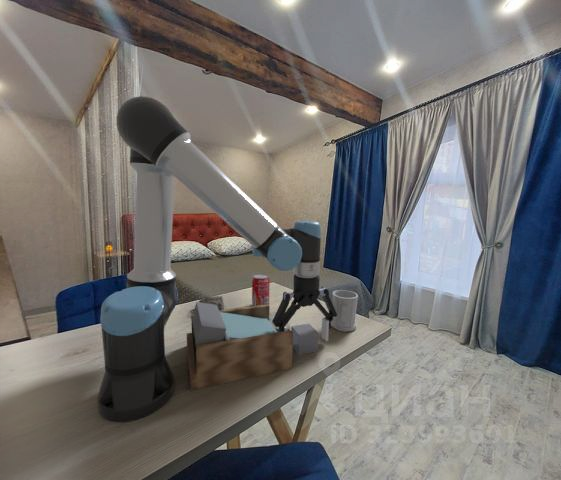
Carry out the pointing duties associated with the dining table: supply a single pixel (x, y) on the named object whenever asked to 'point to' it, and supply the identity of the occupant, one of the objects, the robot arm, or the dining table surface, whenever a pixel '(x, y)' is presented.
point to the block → (304, 338)
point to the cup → (344, 310)
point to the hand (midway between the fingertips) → (305, 342)
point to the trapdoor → (225, 325)
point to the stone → (271, 317)
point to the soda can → (260, 290)
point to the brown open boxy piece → (239, 354)
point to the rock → (213, 301)
